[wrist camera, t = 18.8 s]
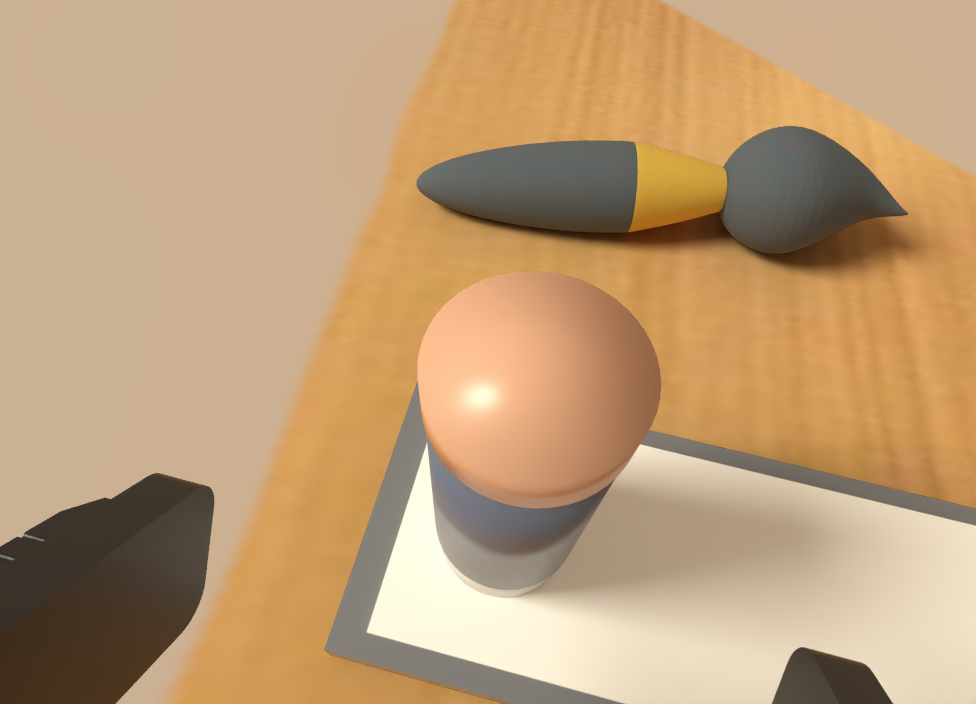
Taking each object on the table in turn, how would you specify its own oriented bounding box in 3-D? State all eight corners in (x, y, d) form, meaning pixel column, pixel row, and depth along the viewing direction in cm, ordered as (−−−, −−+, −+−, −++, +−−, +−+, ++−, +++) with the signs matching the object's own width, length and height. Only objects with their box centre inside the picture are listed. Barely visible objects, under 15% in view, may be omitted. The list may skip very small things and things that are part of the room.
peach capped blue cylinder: (582, 486, 20) (674, 301, 12) (554, 620, 18) (642, 515, 10) (457, 452, 21) (457, 249, 12) (416, 580, 18) (381, 444, 10)
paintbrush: (414, 270, 26) (408, 179, 22) (418, 183, 29) (414, 87, 25) (876, 278, 27) (955, 194, 23) (841, 194, 30) (906, 104, 26)
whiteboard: (989, 528, 22) (1020, 516, 20) (1045, 855, 17) (1091, 864, 16) (420, 391, 23) (419, 371, 22) (331, 655, 19) (322, 649, 17)
